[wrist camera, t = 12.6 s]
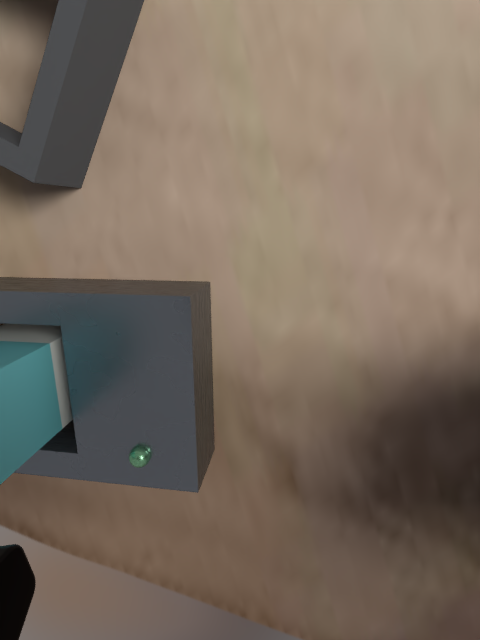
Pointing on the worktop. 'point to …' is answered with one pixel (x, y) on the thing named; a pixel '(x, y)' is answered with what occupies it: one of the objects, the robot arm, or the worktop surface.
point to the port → (126, 378)
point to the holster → (71, 91)
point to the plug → (30, 392)
